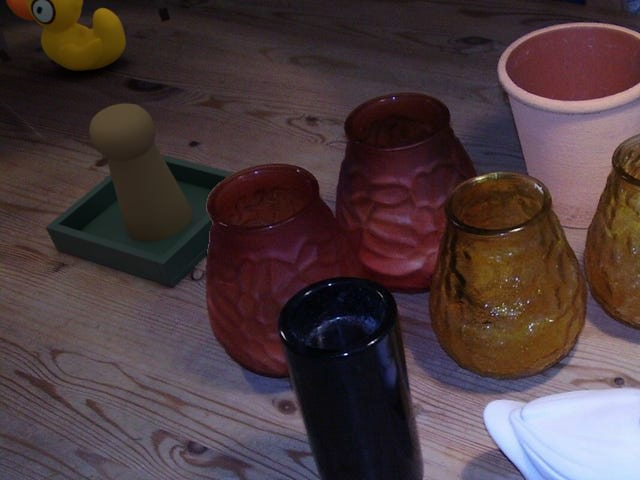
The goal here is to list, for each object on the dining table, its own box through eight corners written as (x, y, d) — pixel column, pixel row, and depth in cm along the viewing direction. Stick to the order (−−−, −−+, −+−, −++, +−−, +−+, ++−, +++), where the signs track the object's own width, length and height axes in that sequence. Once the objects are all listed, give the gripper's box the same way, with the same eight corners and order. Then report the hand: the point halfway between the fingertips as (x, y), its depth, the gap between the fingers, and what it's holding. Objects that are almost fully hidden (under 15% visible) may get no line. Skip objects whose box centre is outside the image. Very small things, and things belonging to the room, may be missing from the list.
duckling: (29, 82, 111) (-11, -4, 104) (47, 57, 115) (9, -27, 108) (126, 76, 110) (92, -11, 103) (141, 52, 114) (109, -34, 107)
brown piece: (206, 213, 89) (166, 105, 82) (152, 250, 86) (106, 141, 79) (165, 192, 92) (123, 86, 85) (112, 226, 90) (63, 120, 82)
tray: (56, 250, 89) (45, 227, 87) (150, 171, 96) (140, 148, 94) (173, 287, 84) (162, 263, 82) (262, 201, 91) (254, 177, 89)
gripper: (-175, -200, 78) (-83, 59, 79) (141, -263, 83) (226, -20, 84) (-136, -148, 86) (-52, 88, 86) (153, -210, 91) (230, 14, 91)
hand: (85, 35), depth 85 cm, fingers open, 13 cm apart
